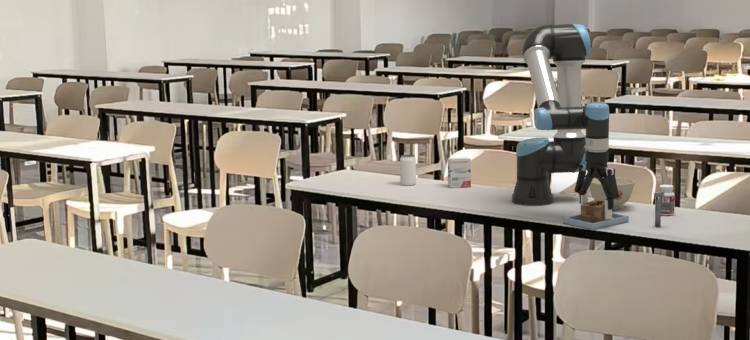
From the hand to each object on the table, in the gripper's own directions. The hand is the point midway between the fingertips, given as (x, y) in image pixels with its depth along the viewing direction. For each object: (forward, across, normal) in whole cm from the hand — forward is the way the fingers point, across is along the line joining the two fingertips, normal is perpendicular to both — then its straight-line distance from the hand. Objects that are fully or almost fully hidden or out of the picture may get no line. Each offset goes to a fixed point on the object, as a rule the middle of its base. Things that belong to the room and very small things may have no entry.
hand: (596, 216), depth 338 cm
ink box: (+2, -80, +10) cm, 81 cm away
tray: (+2, 0, 0) cm, 2 cm away
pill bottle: (+2, +7, +28) cm, 28 cm away
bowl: (+2, -12, +22) cm, 25 cm away
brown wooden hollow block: (+2, 0, 0) cm, 2 cm away
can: (+2, -98, -2) cm, 98 cm away
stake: (+2, +17, +10) cm, 20 cm away
